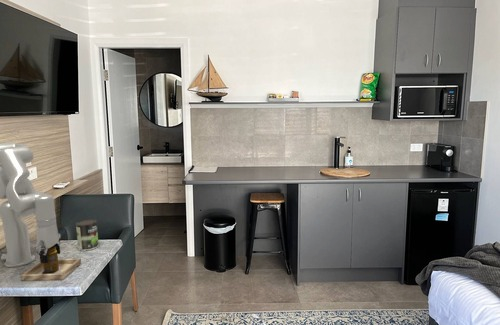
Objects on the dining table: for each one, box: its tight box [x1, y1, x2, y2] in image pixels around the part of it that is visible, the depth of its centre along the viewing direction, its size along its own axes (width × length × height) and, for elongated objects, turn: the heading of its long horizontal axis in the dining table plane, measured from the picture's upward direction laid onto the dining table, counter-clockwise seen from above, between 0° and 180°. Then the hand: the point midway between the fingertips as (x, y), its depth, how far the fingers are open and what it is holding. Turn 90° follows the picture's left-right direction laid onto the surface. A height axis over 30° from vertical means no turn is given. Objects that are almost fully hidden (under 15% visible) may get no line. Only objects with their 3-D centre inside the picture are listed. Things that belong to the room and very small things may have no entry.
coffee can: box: [75, 219, 100, 252], centre depth 185 cm, size 10×10×14 cm
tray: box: [20, 258, 82, 282], centre depth 158 cm, size 18×16×2 cm
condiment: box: [42, 245, 61, 274], centre depth 156 cm, size 7×8×12 cm
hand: (50, 258), depth 157 cm, fingers open, 9 cm apart
